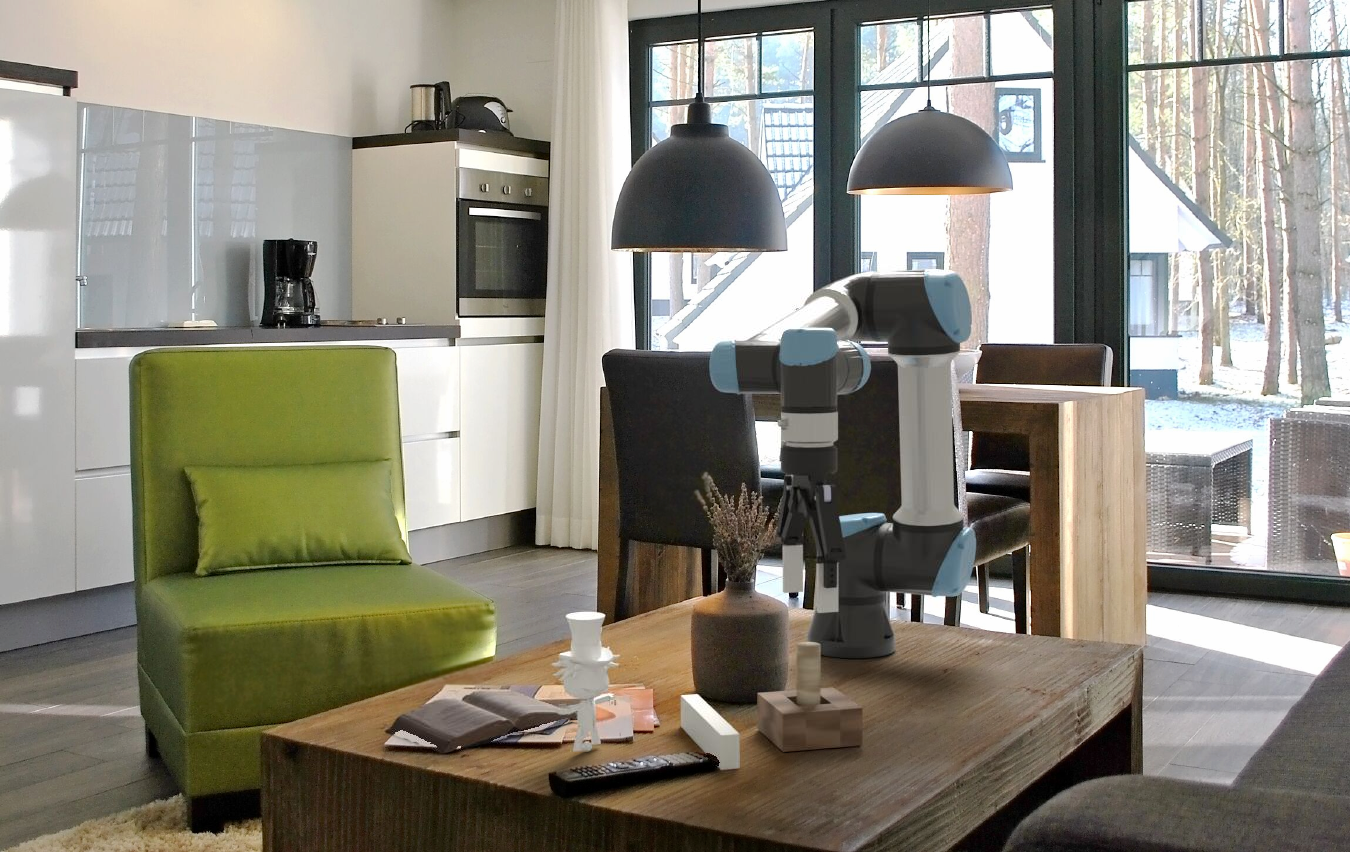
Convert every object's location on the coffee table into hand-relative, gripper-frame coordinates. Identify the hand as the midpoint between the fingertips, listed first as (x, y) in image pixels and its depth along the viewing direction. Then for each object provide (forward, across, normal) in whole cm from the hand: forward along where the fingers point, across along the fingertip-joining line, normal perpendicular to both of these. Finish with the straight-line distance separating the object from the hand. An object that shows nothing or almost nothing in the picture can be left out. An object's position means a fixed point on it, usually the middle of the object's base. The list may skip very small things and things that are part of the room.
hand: (809, 601), depth 188 cm
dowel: (+18, 0, 0) cm, 18 cm away
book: (+19, -18, -41) cm, 49 cm away
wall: (+18, 0, -14) cm, 23 cm away
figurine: (+18, -2, -30) cm, 36 cm away
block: (+18, 0, 0) cm, 19 cm away
